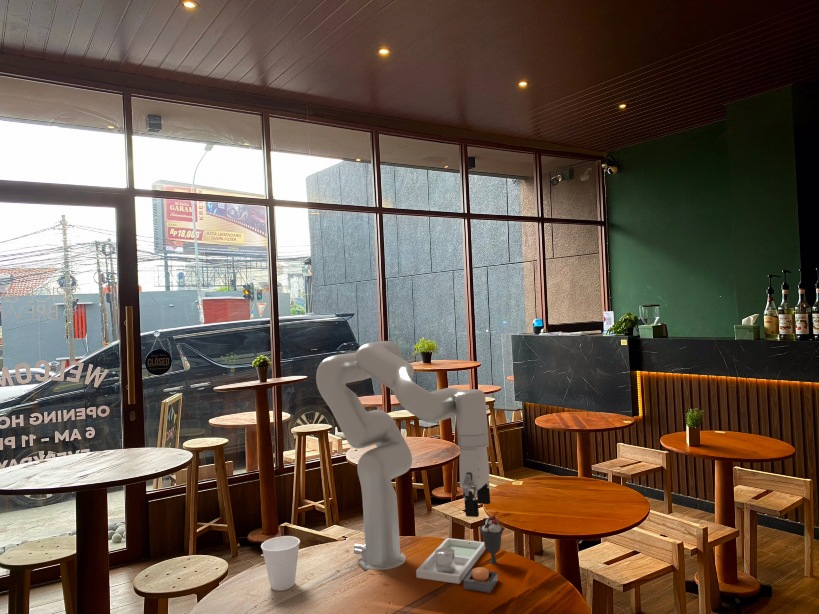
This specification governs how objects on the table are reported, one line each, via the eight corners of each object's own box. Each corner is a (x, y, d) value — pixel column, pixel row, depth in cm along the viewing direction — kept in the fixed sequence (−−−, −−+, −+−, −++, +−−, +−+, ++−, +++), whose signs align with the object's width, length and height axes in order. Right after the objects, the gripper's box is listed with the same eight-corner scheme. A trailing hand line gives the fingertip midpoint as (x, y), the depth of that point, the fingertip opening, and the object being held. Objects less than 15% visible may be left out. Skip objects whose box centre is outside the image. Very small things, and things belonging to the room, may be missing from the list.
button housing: (464, 592, 144) (463, 580, 144) (472, 580, 150) (472, 569, 150) (490, 596, 141) (489, 584, 141) (498, 584, 147) (497, 572, 147)
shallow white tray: (416, 581, 151) (416, 570, 151) (447, 547, 172) (446, 537, 172) (459, 587, 146) (459, 576, 146) (485, 552, 167) (485, 542, 167)
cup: (288, 573, 160) (286, 533, 160) (309, 584, 152) (307, 541, 153) (255, 587, 153) (253, 544, 153) (276, 599, 146) (274, 554, 146)
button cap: (470, 582, 144) (470, 573, 144) (475, 575, 148) (475, 566, 148) (486, 585, 143) (485, 575, 143) (491, 578, 146) (490, 568, 146)
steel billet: (433, 573, 153) (432, 554, 153) (440, 565, 157) (439, 546, 157) (451, 576, 151) (450, 556, 151) (458, 568, 155) (457, 549, 155)
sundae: (506, 572, 154) (503, 514, 154) (480, 571, 155) (477, 514, 155) (507, 561, 160) (504, 506, 160) (482, 560, 161) (479, 505, 161)
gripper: (469, 432, 155) (474, 498, 155) (446, 447, 140) (452, 520, 139) (497, 433, 152) (502, 499, 152) (477, 448, 137) (482, 522, 136)
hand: (478, 509), depth 146 cm, fingers open, 9 cm apart
